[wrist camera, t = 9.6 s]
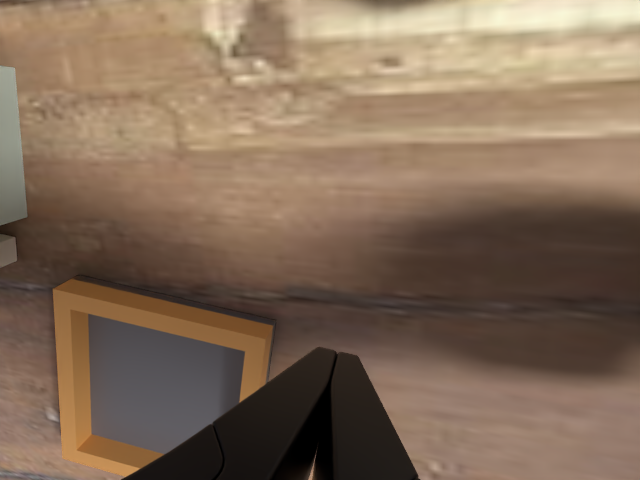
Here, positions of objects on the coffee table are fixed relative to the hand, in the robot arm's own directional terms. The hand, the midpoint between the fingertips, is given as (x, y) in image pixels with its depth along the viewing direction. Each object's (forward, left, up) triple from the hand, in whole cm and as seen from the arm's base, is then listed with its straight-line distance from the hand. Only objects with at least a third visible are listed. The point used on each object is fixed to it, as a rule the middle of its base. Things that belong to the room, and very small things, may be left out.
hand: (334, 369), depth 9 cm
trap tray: (+15, +7, -13) cm, 21 cm away
